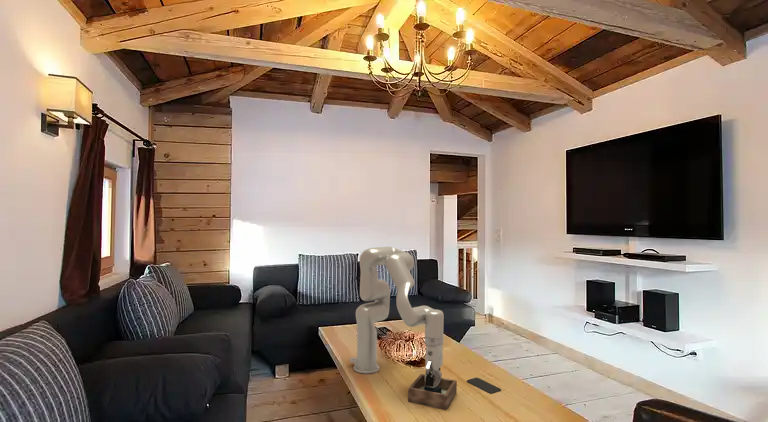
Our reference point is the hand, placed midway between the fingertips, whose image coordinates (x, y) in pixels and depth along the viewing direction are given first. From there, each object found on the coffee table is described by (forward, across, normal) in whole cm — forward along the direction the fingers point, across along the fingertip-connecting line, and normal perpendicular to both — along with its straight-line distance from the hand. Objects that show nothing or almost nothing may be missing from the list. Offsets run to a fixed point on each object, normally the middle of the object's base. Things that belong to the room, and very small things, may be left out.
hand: (433, 381), depth 172 cm
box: (+7, 0, 0) cm, 7 cm away
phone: (+7, +21, -17) cm, 28 cm away
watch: (+6, +1, 0) cm, 6 cm away
